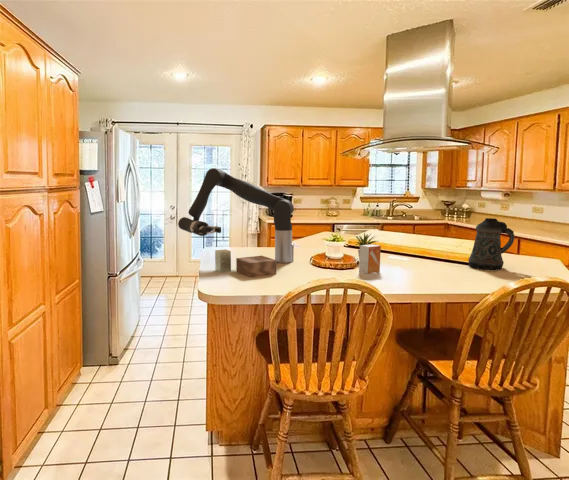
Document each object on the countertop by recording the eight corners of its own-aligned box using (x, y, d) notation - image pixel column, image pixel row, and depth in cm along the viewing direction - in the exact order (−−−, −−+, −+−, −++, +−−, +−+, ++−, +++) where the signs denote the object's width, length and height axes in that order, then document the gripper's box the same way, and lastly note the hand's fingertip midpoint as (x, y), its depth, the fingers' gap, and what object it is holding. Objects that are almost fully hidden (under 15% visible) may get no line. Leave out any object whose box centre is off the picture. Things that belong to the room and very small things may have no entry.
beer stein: (462, 264, 239) (465, 217, 235) (499, 264, 239) (502, 217, 235) (476, 270, 222) (479, 220, 219) (515, 270, 222) (519, 220, 219)
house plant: (361, 265, 234) (362, 234, 231) (344, 261, 246) (345, 231, 243) (382, 263, 241) (383, 232, 239) (365, 258, 253) (365, 229, 250)
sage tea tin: (225, 269, 224) (225, 249, 223) (231, 271, 220) (230, 250, 218) (215, 270, 221) (215, 250, 220) (220, 272, 216) (220, 252, 215)
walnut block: (261, 269, 225) (261, 255, 224) (276, 274, 213) (276, 260, 212) (236, 272, 218) (236, 258, 217) (249, 278, 206) (249, 263, 205)
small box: (367, 274, 214) (368, 247, 212) (358, 271, 219) (359, 245, 217) (380, 272, 218) (381, 245, 216) (370, 269, 223) (371, 243, 222)
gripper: (186, 221, 236) (199, 224, 222) (211, 220, 244) (225, 223, 230) (187, 235, 237) (199, 239, 223) (211, 234, 245) (225, 237, 231)
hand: (212, 231), depth 227 cm, fingers open, 8 cm apart
